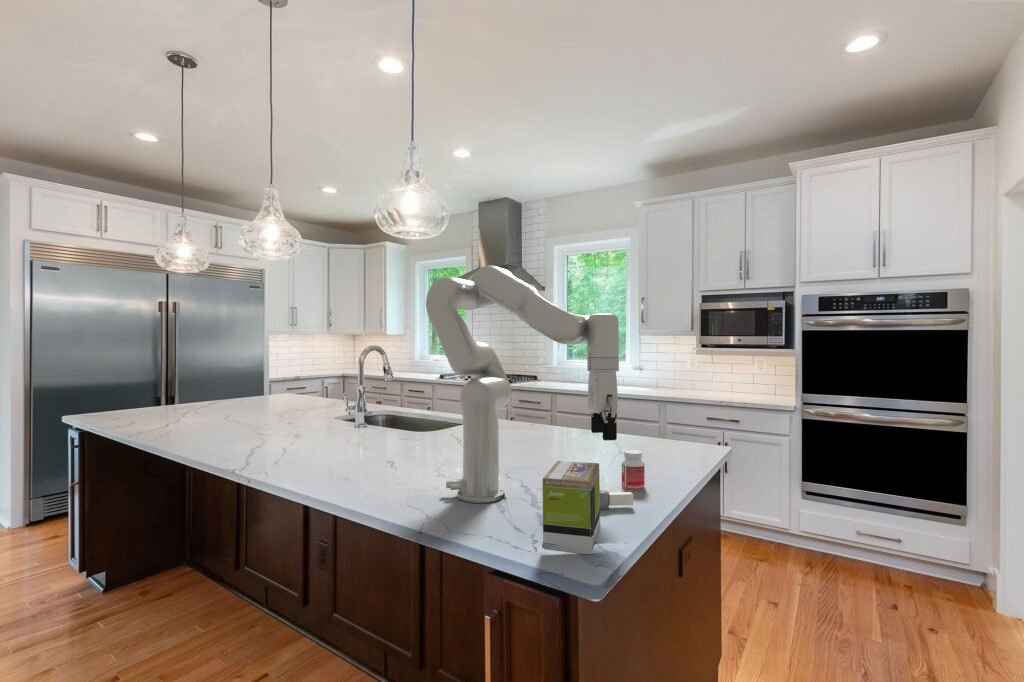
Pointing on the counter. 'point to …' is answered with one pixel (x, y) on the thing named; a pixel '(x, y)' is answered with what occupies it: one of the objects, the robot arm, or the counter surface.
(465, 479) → the robot arm
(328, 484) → the counter surface
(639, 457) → the pill bottle
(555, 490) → the tea box
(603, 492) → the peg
